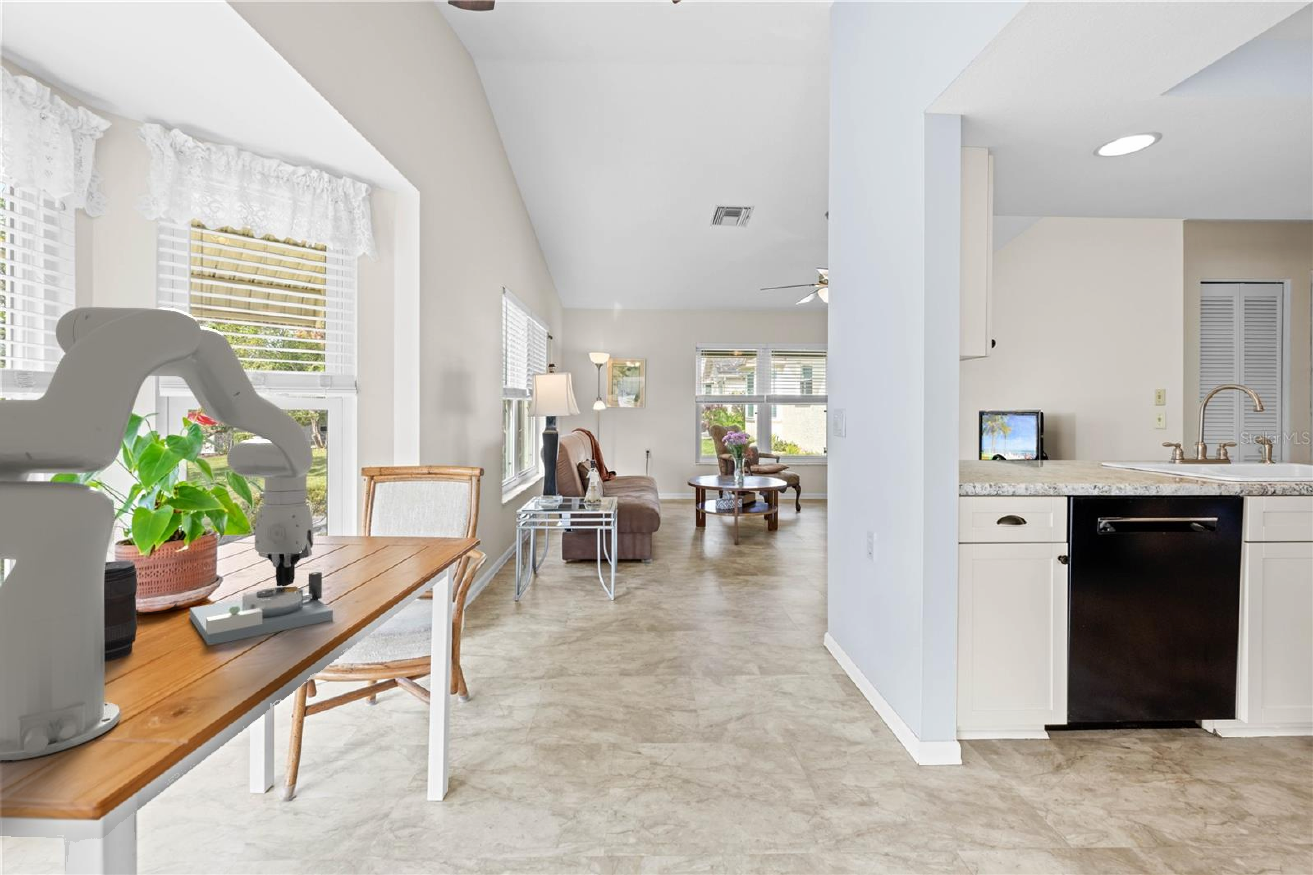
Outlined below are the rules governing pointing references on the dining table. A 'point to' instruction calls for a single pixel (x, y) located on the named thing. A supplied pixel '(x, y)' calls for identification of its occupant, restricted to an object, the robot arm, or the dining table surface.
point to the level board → (268, 622)
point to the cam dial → (282, 597)
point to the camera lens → (119, 608)
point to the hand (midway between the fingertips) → (285, 584)
